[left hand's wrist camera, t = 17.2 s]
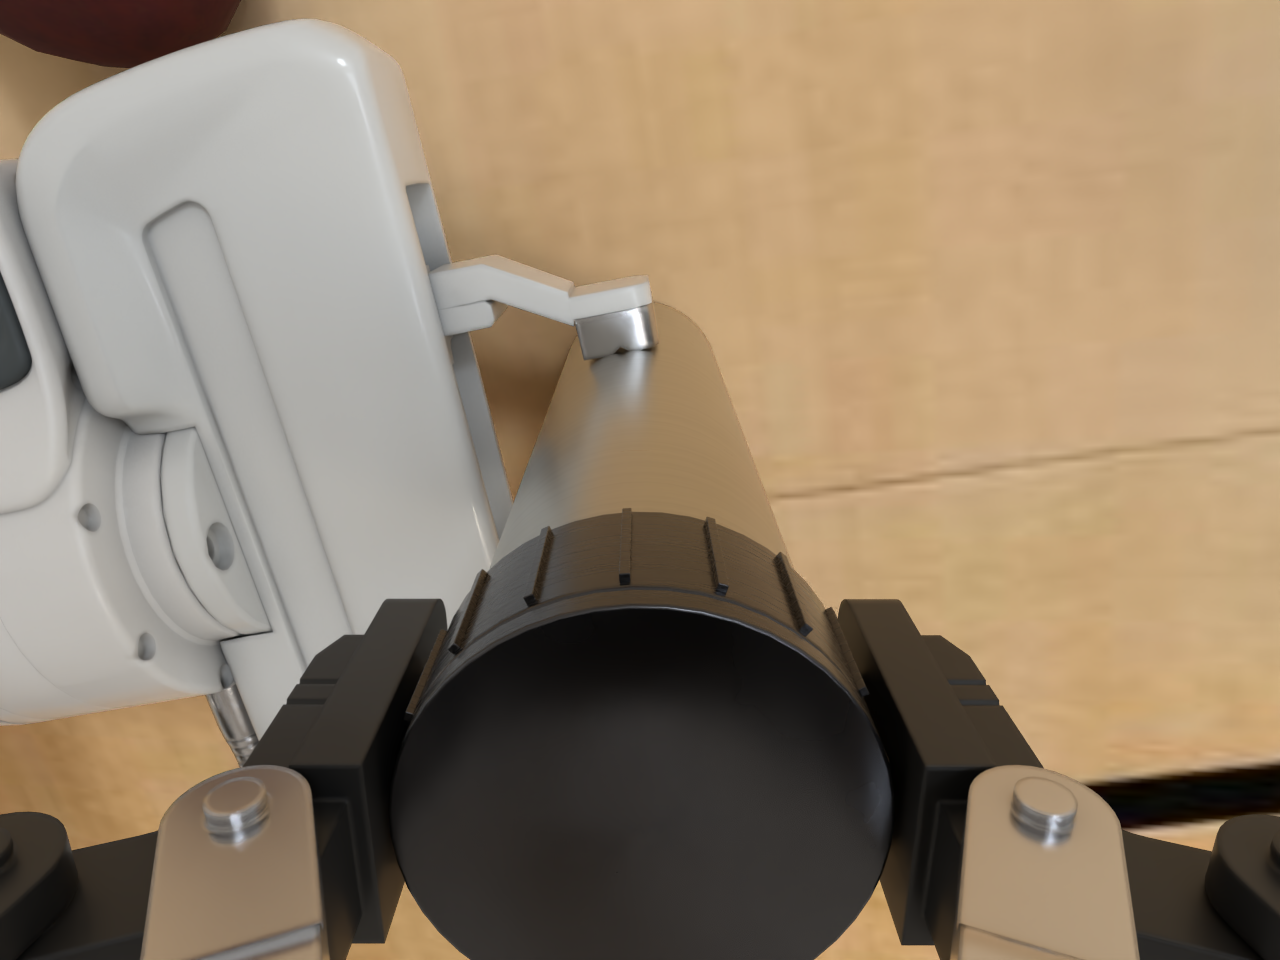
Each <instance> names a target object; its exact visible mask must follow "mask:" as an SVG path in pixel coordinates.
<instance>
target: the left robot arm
mask: <svg viewBox="0 0 1280 960" xmlns="http://www.w3.org/2000/svg"><path fill="white" fill-rule="evenodd" d="M838 621H839V623H840V626H841V628H842V630H843V633H844V635H845V637H846V640H847V642H848V645H849V647H850V649H851V652H852V654H853V656H854V659H855V661H856V663H857V666H858V668H859V670H860V673H861V675H862V677H863V680H864V682H865V684H866V687H867V689H868V691H869V695H866V696H864V699H865V701H866V704H867V706H868V708H869V711H870V713H871V716H872V718H873V721H874V723H875V725H876V728H877V730H878V733H879V735H880V737H881V740H882V742H883V745H884V747H885V749H886V752H887V754H888V757H889V759H890V762H891V773H892V779H893V785H894V791H895V823H894V830H893V836H892V843H891V848H890V851H889V855H888V858H887V861H886V864H885V867H884V870H883V873H882V875H881V877H880V882H881V885H882V888H883V891H884V894H885V897H886V900H887V903H888V906H889V909H890V912H891V915H892V918H893V921H894V924H895V927H896V930H897V933H898V936H899V939H900V942H901V945H935V947H936V950H937V952H938V955H939V958H940V960H1280V817H1277V816H1270V815H1255V814H1254V815H1243V816H1239V817H1235V818H1232V819H1230V820H1228V821H1226V822H1225V823H1224V824H1223V825H1222V826H1221V827H1220V829H1219V831H1218V833H1217V836H1216V840H1215V843H1214V847H1213V850H1212V852H1211V851H1207V850H1202V849H1198V848H1193V847H1189V846H1184V845H1180V844H1175V843H1171V842H1166V841H1162V840H1157V839H1152V838H1148V837H1144V836H1140V835H1137V834H1133V833H1130V832H1127V831H1124V830H1121V826H1120V822H1119V820H1118V818H1117V816H1116V814H1115V812H1114V811H1113V810H1112V809H1111V807H1110V806H1109V805H1108V804H1107V803H1106V802H1105V801H1104V800H1103V799H1102V798H1101V797H1100V796H1099V795H1098V794H1096V793H1095V792H1094V791H1092V790H1091V789H1090V788H1088V787H1086V786H1085V785H1083V784H1081V783H1080V782H1078V781H1076V780H1074V779H1072V778H1069V777H1067V776H1065V775H1062V774H1060V773H1057V772H1054V771H1051V770H1047V769H1044V768H1043V766H1042V765H1041V763H1040V761H1039V760H1038V758H1037V757H1036V755H1035V754H1034V752H1033V751H1032V749H1031V748H1030V746H1029V745H1028V743H1027V742H1026V740H1025V739H1024V737H1023V736H1022V734H1021V733H1020V731H1019V730H1018V728H1017V727H1016V725H1015V724H1014V722H1013V721H1012V719H1011V718H1010V716H1009V715H1008V713H1007V712H1006V710H1005V709H1004V707H1003V706H1000V705H999V700H998V698H997V697H996V695H995V694H994V692H993V691H992V689H991V688H990V686H989V685H986V680H985V678H984V677H983V675H982V674H981V672H980V671H979V669H978V668H977V666H976V665H975V663H974V662H973V660H972V659H971V657H970V656H969V655H967V654H966V653H965V652H963V651H962V650H960V649H959V648H957V647H956V646H955V645H953V644H952V643H950V642H949V641H948V640H946V639H945V638H943V637H942V636H940V635H920V633H919V631H918V630H917V628H916V626H915V625H914V623H913V621H912V619H911V618H910V616H909V614H908V613H907V611H906V609H905V608H904V606H903V604H902V603H901V601H899V600H897V599H844V600H843V601H842V602H841V605H840V608H839V613H838ZM440 629H442V630H445V631H448V628H447V617H446V610H445V605H444V603H443V601H442V599H386V600H384V602H383V603H382V605H381V606H380V608H379V610H378V612H377V613H376V615H375V617H374V619H373V620H372V622H371V624H370V625H369V627H368V629H367V631H366V632H365V634H364V635H343V636H342V637H340V638H339V639H338V640H336V641H335V642H333V643H332V644H331V645H329V646H328V647H326V648H325V649H323V650H322V651H321V652H319V653H318V654H316V655H315V657H314V658H313V660H312V661H311V663H310V664H309V666H308V667H307V669H306V670H305V672H304V673H303V675H302V677H301V678H300V683H299V684H296V686H295V687H294V689H293V690H292V692H291V693H290V695H289V696H288V698H287V703H286V704H283V706H282V707H281V709H280V710H279V712H278V713H277V715H276V716H275V718H274V719H273V721H272V722H271V724H270V725H269V727H268V729H267V730H266V732H265V733H264V735H263V736H262V738H261V739H260V741H259V742H258V744H257V745H256V747H255V748H254V750H253V752H252V753H251V755H250V756H249V758H248V759H247V761H246V762H245V764H244V765H243V767H241V768H237V769H233V770H229V771H226V772H223V773H220V774H218V775H215V776H213V777H210V778H208V779H206V780H204V781H202V782H200V783H199V784H197V785H195V786H194V787H192V788H190V789H189V790H188V791H186V792H185V793H184V794H182V795H181V796H180V797H179V798H178V799H177V800H176V801H175V802H174V803H173V804H172V805H171V806H170V807H169V809H168V810H167V811H166V812H165V814H164V816H163V818H162V820H161V822H160V826H159V830H158V831H155V832H152V833H148V834H144V835H140V836H136V837H131V838H127V839H122V840H118V841H113V842H109V843H104V844H100V845H95V846H90V847H86V848H81V849H77V850H71V847H70V843H69V840H68V836H67V832H66V830H65V828H64V825H63V824H62V823H61V822H60V821H59V820H58V819H56V818H54V817H52V816H51V815H47V814H43V813H37V812H15V813H8V814H2V815H0V960H346V957H347V955H348V952H349V949H350V947H351V944H352V943H385V940H386V937H387V934H388V931H389V928H390V925H391V922H392V919H393V916H394V913H395V910H396V907H397V904H398V901H399V897H400V894H401V891H402V888H403V885H404V882H405V880H404V878H403V875H402V873H401V871H400V868H399V866H398V864H397V860H396V856H395V852H394V848H393V844H392V840H391V835H390V824H389V813H388V804H389V790H390V780H391V776H392V772H393V768H394V764H395V760H396V755H397V753H398V750H399V748H400V746H401V743H402V741H403V738H404V736H405V733H406V731H407V728H408V726H409V724H410V722H409V721H406V720H403V717H404V714H405V712H406V709H407V707H408V704H409V702H410V700H411V697H412V695H413V693H414V690H415V688H416V686H417V683H418V681H419V679H420V676H421V674H422V672H423V669H424V667H425V664H426V662H427V660H428V657H429V655H430V653H431V650H432V648H433V646H434V643H435V641H436V639H437V636H438V634H439V631H440Z"/></svg>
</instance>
